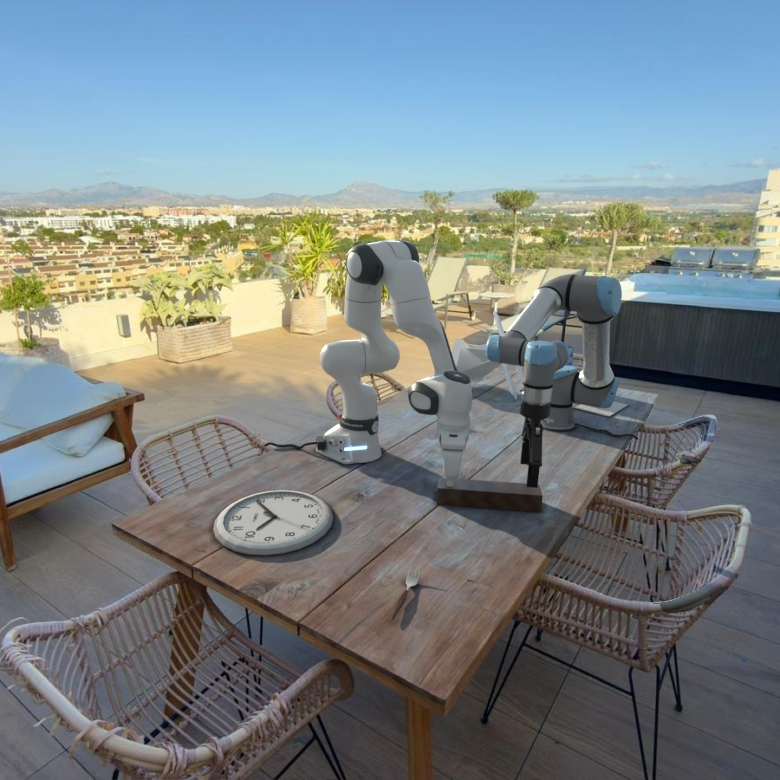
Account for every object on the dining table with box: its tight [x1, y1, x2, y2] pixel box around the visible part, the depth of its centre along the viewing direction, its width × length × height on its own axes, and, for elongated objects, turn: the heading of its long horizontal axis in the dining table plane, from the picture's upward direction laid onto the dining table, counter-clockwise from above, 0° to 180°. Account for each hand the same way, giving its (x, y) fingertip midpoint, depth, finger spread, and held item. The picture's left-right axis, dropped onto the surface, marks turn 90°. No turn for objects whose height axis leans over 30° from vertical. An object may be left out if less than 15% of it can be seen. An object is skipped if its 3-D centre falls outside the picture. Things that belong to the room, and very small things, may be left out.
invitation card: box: [573, 400, 629, 418], centre depth 226 cm, size 21×1×15 cm
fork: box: [391, 565, 422, 620], centre depth 108 cm, size 3×16×2 cm, turn 160°
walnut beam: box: [436, 476, 543, 513], centre depth 145 cm, size 28×6×5 cm, turn 83°
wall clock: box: [212, 489, 334, 556], centre depth 134 cm, size 30×2×30 cm
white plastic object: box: [451, 310, 524, 400], centre depth 245 cm, size 37×45×31 cm
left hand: (449, 476), depth 146 cm, fingers open, 8 cm apart
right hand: (528, 474), depth 142 cm, fingers open, 13 cm apart
